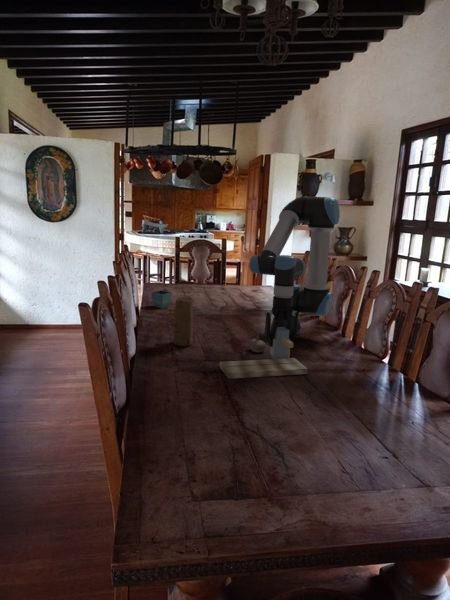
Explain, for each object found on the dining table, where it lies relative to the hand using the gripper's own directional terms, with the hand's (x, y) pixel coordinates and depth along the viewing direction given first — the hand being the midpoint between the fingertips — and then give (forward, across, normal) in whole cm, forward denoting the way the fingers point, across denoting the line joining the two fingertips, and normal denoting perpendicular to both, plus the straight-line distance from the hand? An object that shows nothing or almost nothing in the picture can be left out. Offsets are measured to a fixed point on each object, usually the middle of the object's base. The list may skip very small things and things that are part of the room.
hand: (279, 353), depth 179 cm
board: (+3, +10, +10) cm, 14 cm away
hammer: (+2, 0, +4) cm, 4 cm away
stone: (+3, +33, -27) cm, 43 cm away
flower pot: (+3, +33, -99) cm, 105 cm away
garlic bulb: (+3, +4, -13) cm, 14 cm away
